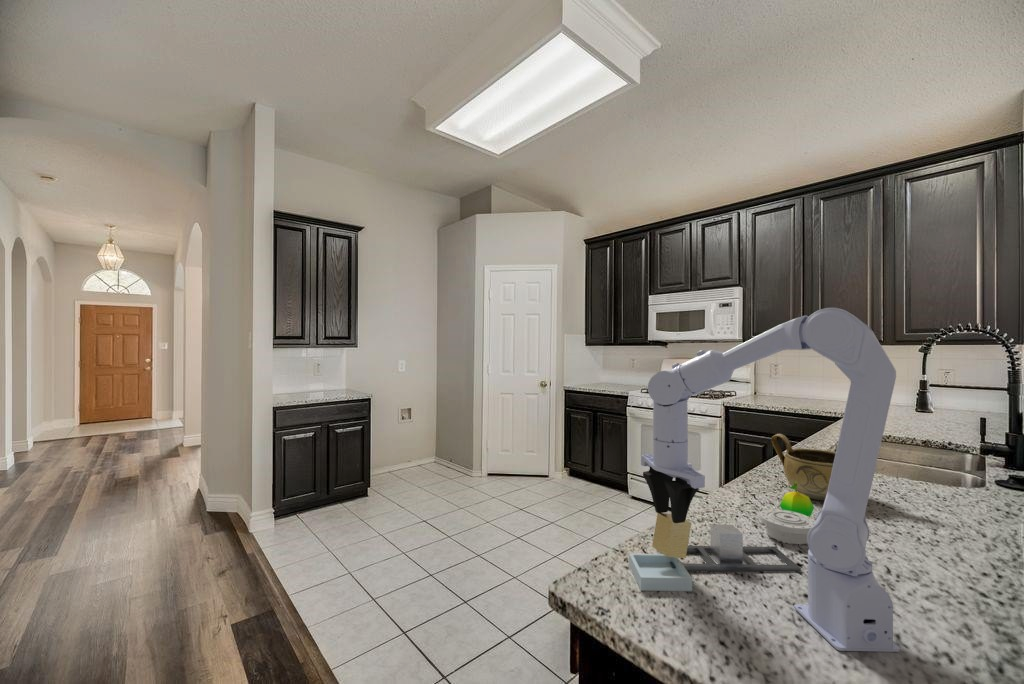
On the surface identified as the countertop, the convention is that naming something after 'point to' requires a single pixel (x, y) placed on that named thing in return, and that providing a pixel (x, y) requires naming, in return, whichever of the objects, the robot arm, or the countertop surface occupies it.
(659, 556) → the parts tray
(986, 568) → the countertop surface
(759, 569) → the rail
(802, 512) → the apple
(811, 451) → the ceramic bowl
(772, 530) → the mechanical component
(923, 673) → the countertop surface
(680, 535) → the tan wooden post
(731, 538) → the grey block
